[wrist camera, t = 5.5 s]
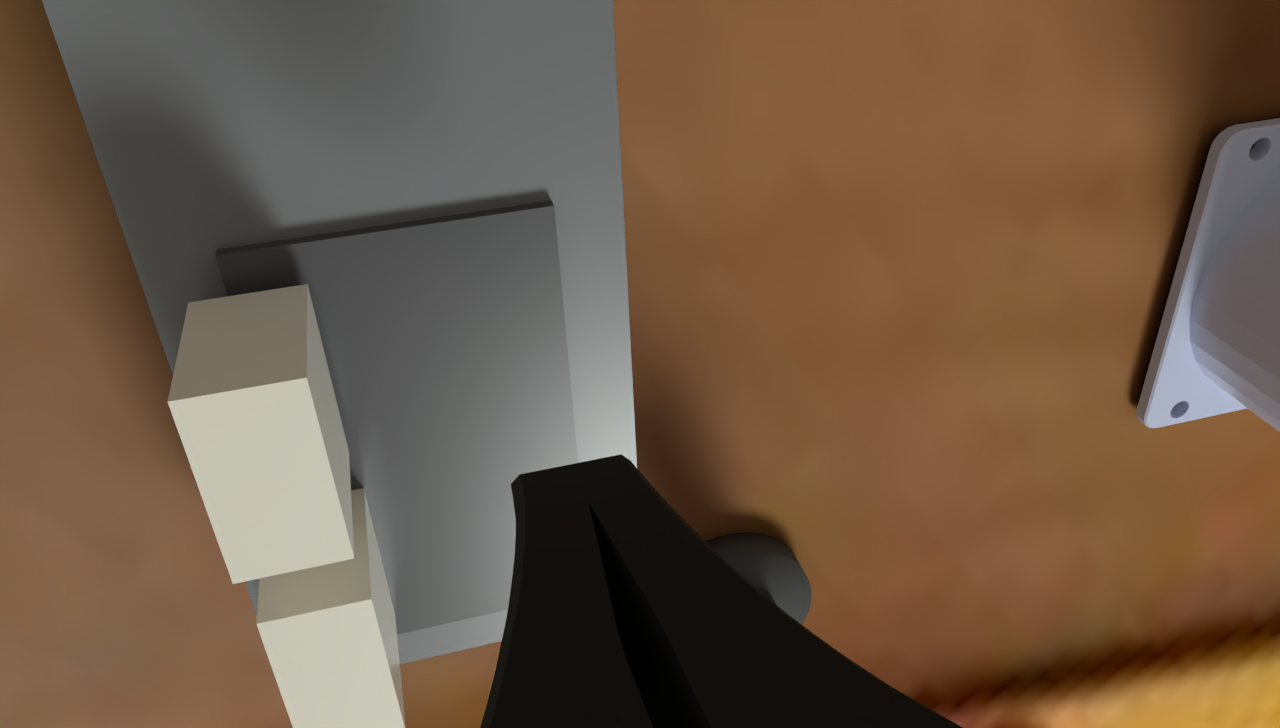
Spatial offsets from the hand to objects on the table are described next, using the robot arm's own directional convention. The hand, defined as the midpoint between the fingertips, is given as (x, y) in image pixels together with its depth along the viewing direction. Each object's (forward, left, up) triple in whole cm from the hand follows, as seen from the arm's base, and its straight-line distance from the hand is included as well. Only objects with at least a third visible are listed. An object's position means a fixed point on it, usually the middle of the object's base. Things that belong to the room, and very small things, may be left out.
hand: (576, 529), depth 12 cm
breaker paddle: (+4, 0, -4) cm, 6 cm away
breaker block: (+2, 0, -9) cm, 9 cm away
